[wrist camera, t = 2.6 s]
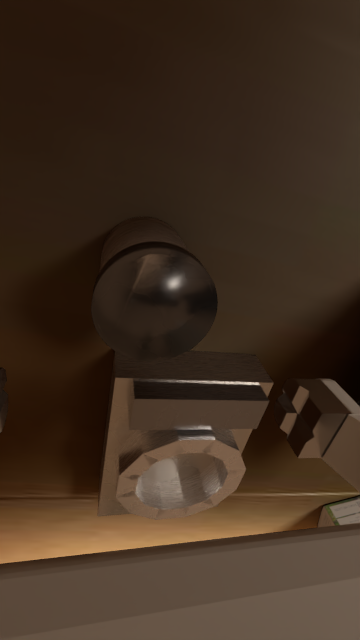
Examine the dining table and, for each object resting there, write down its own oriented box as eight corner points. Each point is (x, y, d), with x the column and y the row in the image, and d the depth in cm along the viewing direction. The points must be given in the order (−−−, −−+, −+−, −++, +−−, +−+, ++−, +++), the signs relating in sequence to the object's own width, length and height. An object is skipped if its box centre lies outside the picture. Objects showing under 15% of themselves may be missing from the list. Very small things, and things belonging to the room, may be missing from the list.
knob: (102, 205, 15) (95, 239, 10) (195, 221, 16) (232, 259, 11) (95, 294, 17) (87, 358, 12) (177, 302, 19) (201, 363, 14)
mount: (115, 346, 19) (115, 404, 15) (255, 354, 22) (288, 406, 18) (99, 479, 26) (96, 545, 22) (208, 473, 29) (224, 531, 24)
